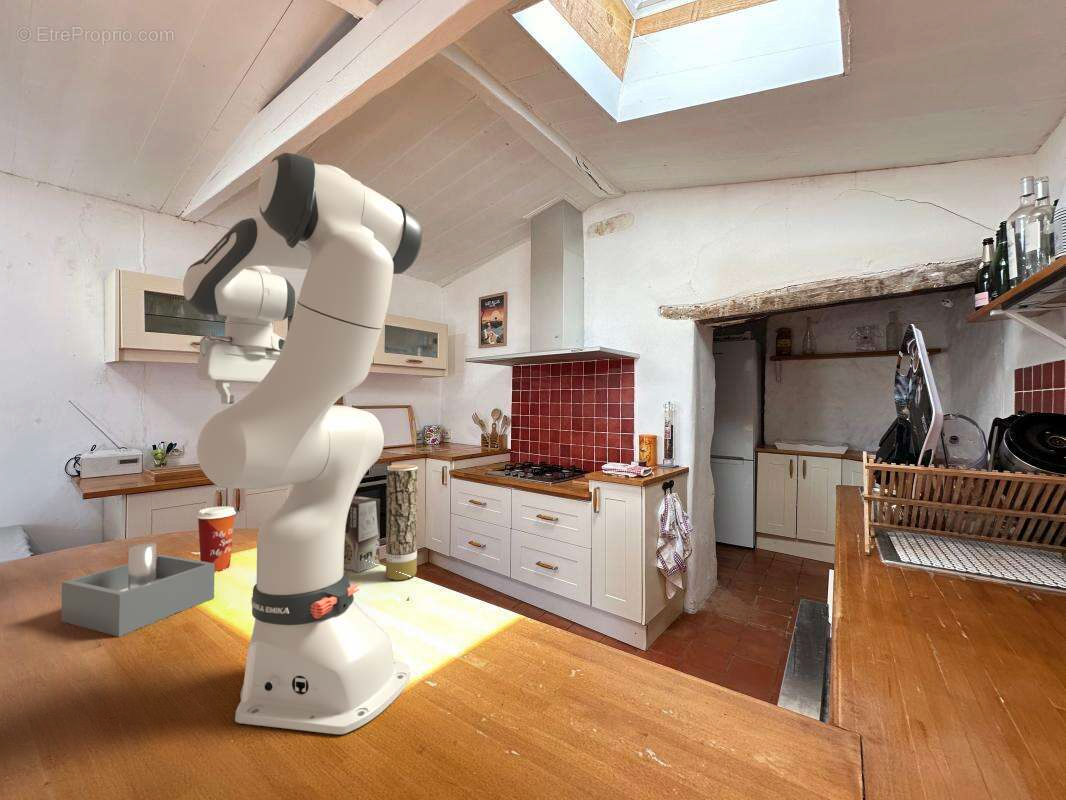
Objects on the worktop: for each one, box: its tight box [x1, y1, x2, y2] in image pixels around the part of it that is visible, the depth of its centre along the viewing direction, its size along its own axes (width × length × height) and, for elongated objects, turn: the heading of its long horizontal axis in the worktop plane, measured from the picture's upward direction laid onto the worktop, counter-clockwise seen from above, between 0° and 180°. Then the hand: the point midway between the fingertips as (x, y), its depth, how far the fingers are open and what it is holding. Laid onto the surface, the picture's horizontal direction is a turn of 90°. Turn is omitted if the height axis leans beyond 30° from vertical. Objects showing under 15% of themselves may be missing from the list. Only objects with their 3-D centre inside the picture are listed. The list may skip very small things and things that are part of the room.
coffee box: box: [344, 495, 381, 573], centre depth 110 cm, size 9×6×16 cm
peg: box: [128, 542, 158, 590], centre depth 86 cm, size 4×4×12 cm
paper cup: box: [196, 505, 237, 573], centre depth 107 cm, size 8×8×14 cm
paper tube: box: [385, 463, 419, 581], centre depth 103 cm, size 7×7×25 cm
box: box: [60, 554, 215, 638], centre depth 86 cm, size 16×16×7 cm
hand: (248, 403), depth 98 cm, fingers open, 8 cm apart
